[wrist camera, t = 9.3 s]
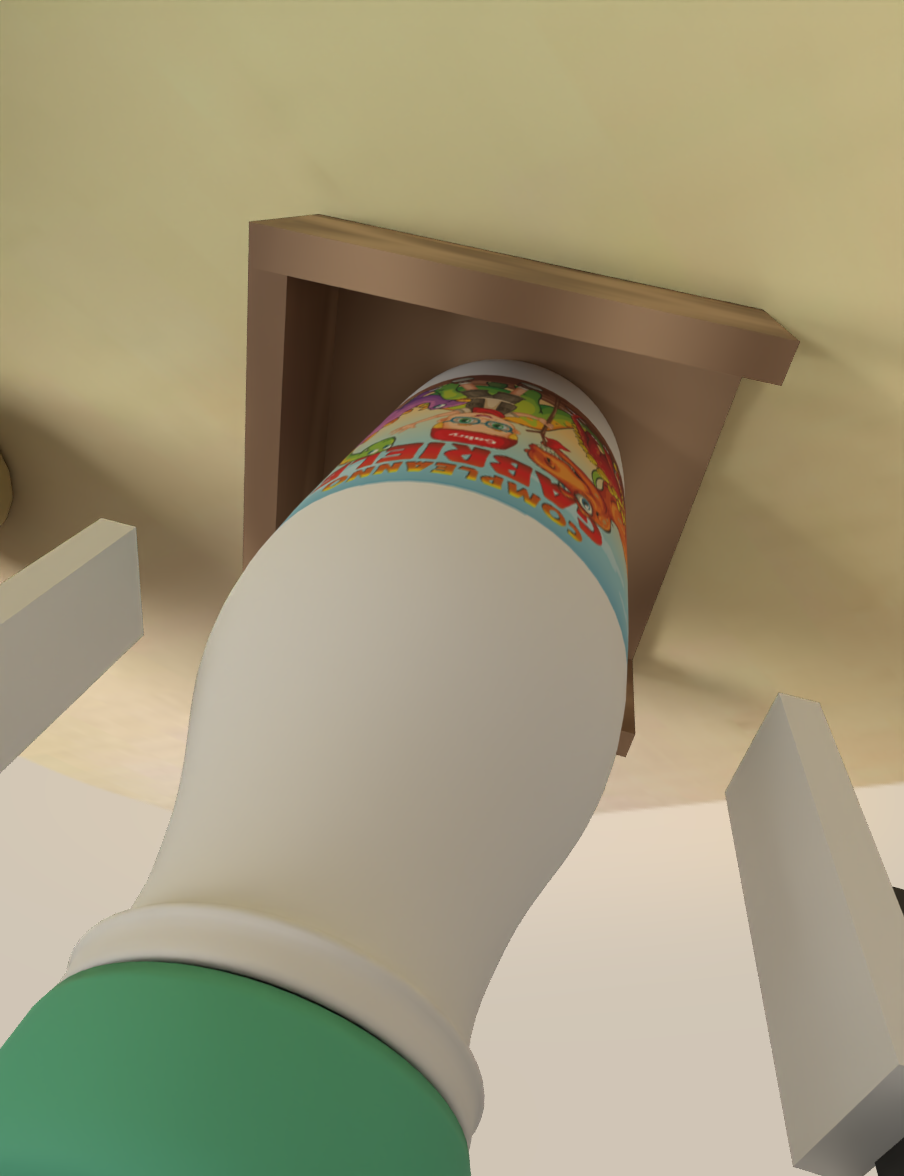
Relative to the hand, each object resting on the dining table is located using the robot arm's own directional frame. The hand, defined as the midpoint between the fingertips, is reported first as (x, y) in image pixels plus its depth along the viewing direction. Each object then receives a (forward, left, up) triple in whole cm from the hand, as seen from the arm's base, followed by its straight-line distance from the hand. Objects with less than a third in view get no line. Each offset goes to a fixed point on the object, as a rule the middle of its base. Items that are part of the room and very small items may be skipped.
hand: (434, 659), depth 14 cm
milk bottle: (0, 0, -10) cm, 10 cm away
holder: (0, 0, -11) cm, 11 cm away
